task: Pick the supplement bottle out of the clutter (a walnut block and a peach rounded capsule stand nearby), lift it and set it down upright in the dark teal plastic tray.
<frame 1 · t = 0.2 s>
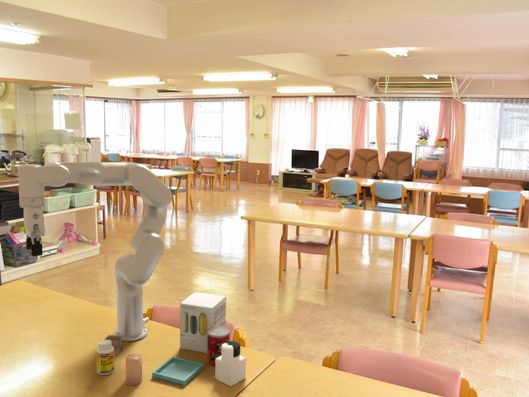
hand: (34, 252, 158), 37 cm above the table, tool pointing down, fingers open, 9 cm apart
supplement box: (203, 344, 176), on the table
peach rounded capsule: (134, 381, 149), on the table
supplement bottle: (105, 372, 155), on the table
walnut block: (112, 351, 168), on the table
tray: (178, 373, 155), on the table
medicine bottle: (230, 379, 152), on the table
canned food: (218, 361, 164), on the table
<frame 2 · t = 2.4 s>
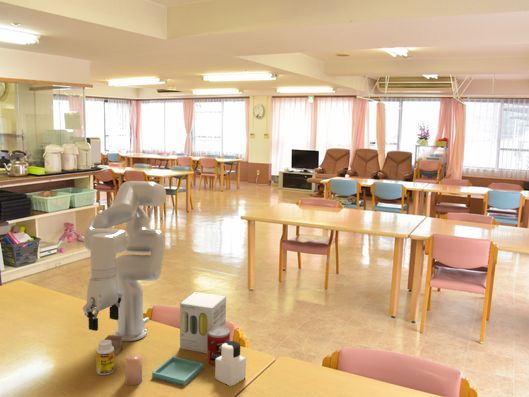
hand: (104, 324, 151), 16 cm above the table, tool pointing down, fingers open, 9 cm apart
nothing on the table moved.
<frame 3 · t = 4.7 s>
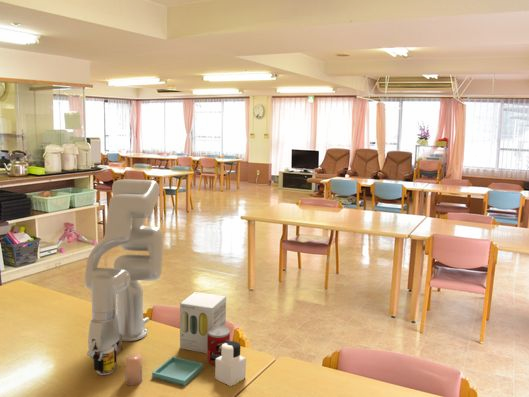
hand: (105, 365, 154), 2 cm above the table, tool pointing down, fingers closed on supplement bottle, 5 cm apart
supplement bottle: (105, 372, 155), on the table, touching gripper
everything else where it was.
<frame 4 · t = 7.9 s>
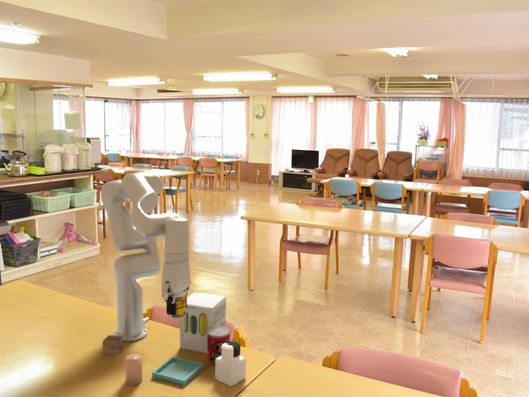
hand: (176, 310, 152), 22 cm above the table, tool pointing down, fingers closed on supplement bottle, 5 cm apart
supplement bottle: (176, 317, 152), point 19 cm above the table, touching gripper
everything else where it was.
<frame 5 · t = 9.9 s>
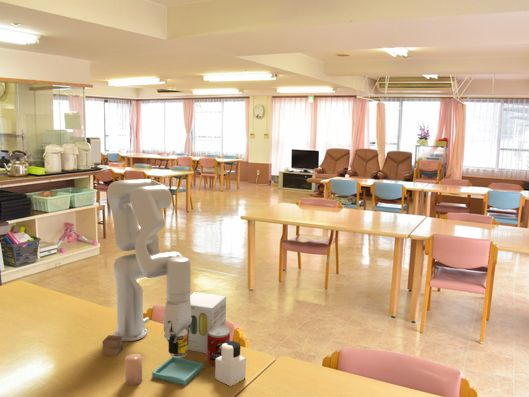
hand: (178, 348, 153), 9 cm above the table, tool pointing down, fingers closed on supplement bottle, 5 cm apart
supplement bottle: (178, 355, 154), point 6 cm above the table, touching gripper
everything else where it was.
when the fingers open (5 cm above the table, at t = 11.4 s): supplement bottle drops 2 cm, resting on tray.
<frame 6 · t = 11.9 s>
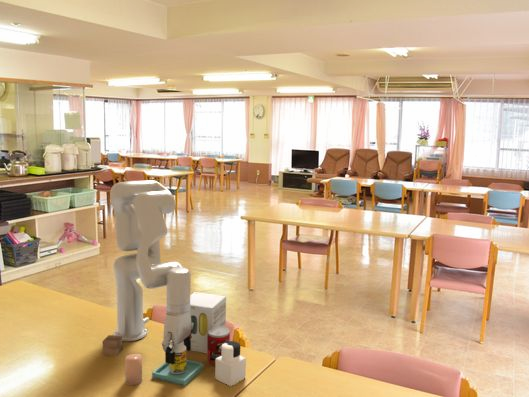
hand: (178, 356, 154), 6 cm above the table, tool pointing down, fingers open, 9 cm apart
supplement bottle: (178, 371, 155), resting on tray
everything else where it was.
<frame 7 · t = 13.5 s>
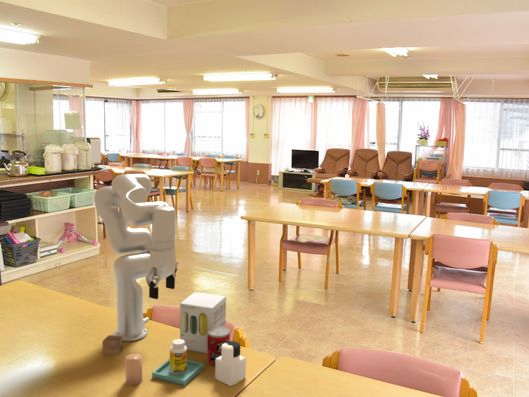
hand: (162, 293, 158), 25 cm above the table, tool pointing down, fingers open, 9 cm apart
nothing on the table moved.
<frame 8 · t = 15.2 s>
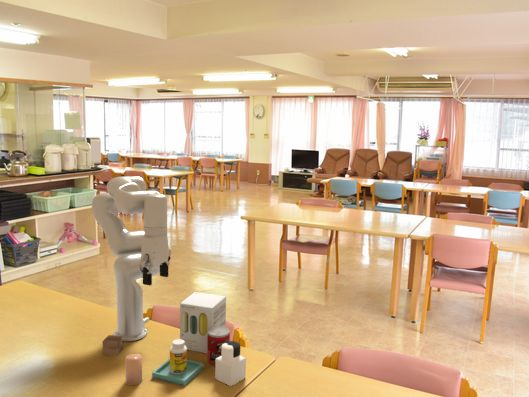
hand: (155, 280, 160), 28 cm above the table, tool pointing down, fingers open, 9 cm apart
nothing on the table moved.
at the end: supplement bottle inside the target area on the tray (0.3 cm from its centre), point 0.4 cm above the tray's base; supplement bottle tilted 1°; the gripper is holding nothing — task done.
